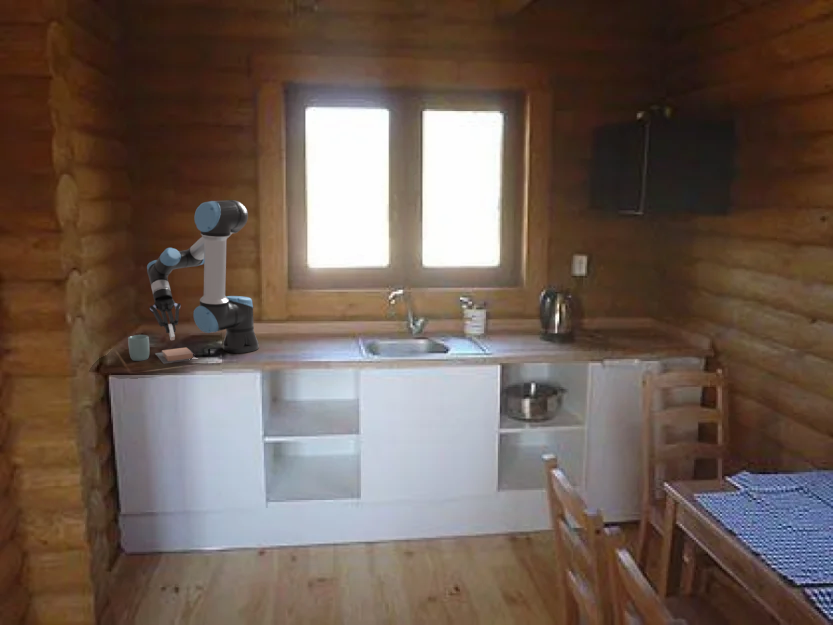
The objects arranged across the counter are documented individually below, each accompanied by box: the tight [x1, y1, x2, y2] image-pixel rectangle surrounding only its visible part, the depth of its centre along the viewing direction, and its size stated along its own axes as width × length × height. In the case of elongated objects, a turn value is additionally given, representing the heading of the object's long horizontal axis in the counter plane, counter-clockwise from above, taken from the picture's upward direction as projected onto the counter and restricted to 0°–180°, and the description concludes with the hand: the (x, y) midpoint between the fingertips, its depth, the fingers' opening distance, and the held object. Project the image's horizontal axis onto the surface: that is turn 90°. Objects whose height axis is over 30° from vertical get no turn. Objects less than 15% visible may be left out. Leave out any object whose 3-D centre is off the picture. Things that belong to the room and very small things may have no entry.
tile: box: [161, 347, 194, 361], centre depth 307 cm, size 2×10×11 cm
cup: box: [127, 334, 150, 362], centre depth 304 cm, size 8×8×10 cm
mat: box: [154, 352, 190, 365], centre depth 309 cm, size 18×14×1 cm
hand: (172, 338), depth 312 cm, fingers closed
